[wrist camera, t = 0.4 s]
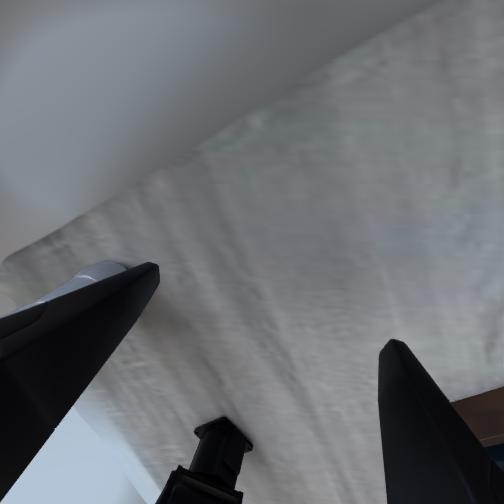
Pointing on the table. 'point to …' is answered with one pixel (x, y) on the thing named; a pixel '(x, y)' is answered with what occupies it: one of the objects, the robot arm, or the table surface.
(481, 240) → the table surface
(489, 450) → the watch
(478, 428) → the tray
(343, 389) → the table surface
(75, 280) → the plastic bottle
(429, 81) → the table surface
